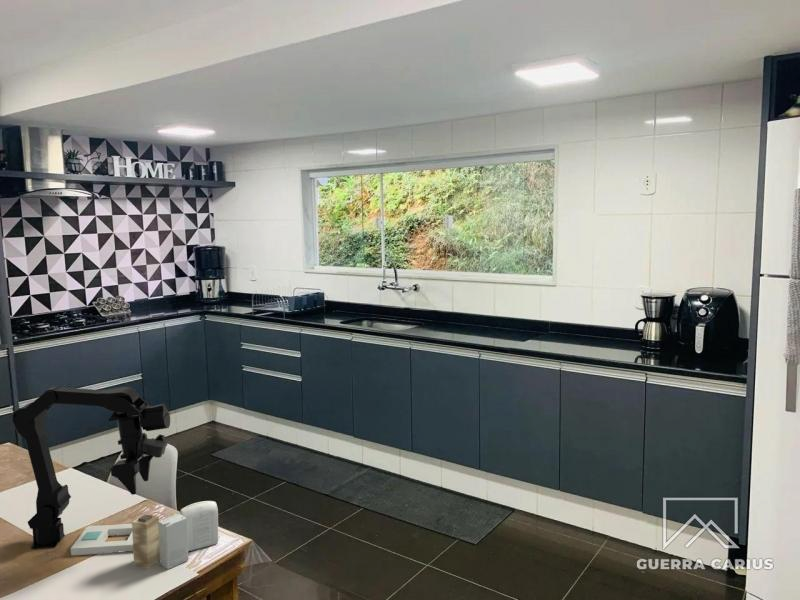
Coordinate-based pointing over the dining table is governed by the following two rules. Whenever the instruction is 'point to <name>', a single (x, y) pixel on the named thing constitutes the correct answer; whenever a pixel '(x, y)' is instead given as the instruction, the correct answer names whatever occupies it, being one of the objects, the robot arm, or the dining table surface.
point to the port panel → (103, 540)
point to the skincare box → (173, 541)
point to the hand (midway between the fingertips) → (140, 487)
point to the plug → (146, 541)
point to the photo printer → (201, 524)
